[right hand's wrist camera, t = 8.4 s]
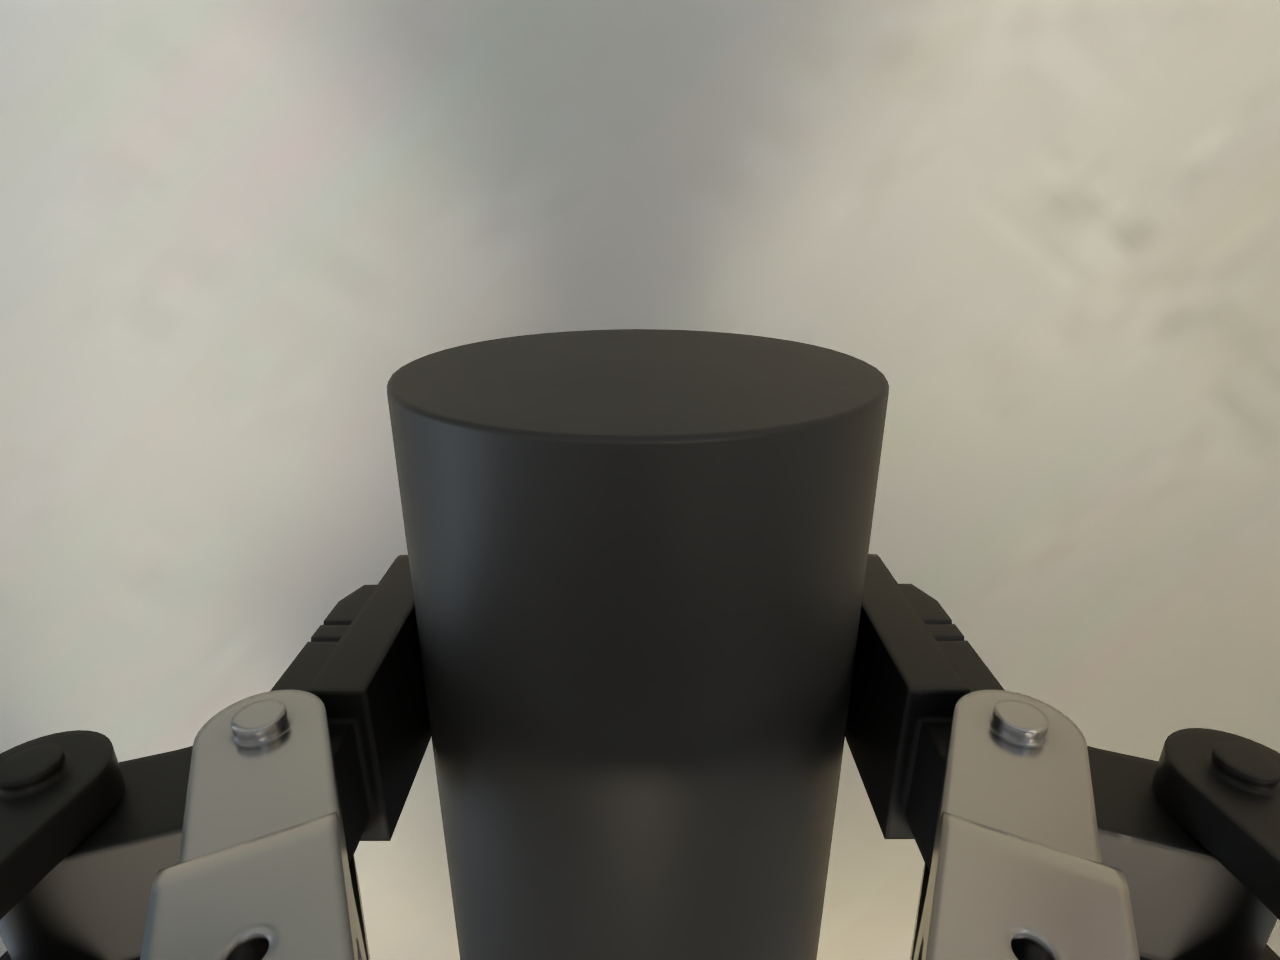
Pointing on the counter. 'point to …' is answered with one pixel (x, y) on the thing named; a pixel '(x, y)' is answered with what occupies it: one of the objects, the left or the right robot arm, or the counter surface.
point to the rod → (638, 632)
